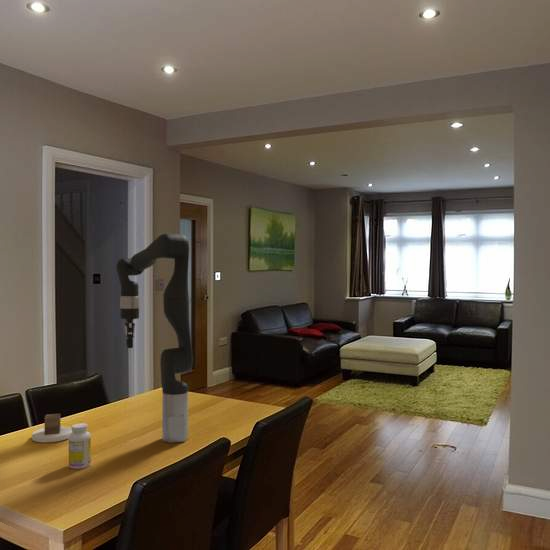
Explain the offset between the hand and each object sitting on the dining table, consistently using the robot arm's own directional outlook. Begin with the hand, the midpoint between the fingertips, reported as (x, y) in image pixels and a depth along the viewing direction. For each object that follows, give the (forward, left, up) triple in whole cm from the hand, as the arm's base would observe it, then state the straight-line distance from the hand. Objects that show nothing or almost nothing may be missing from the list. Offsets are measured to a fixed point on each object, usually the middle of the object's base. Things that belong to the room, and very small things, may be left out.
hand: (129, 346), depth 220 cm
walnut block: (-16, +28, -28) cm, 43 cm away
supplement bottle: (-48, +17, -30) cm, 59 cm away
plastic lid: (-16, +28, -31) cm, 44 cm away
